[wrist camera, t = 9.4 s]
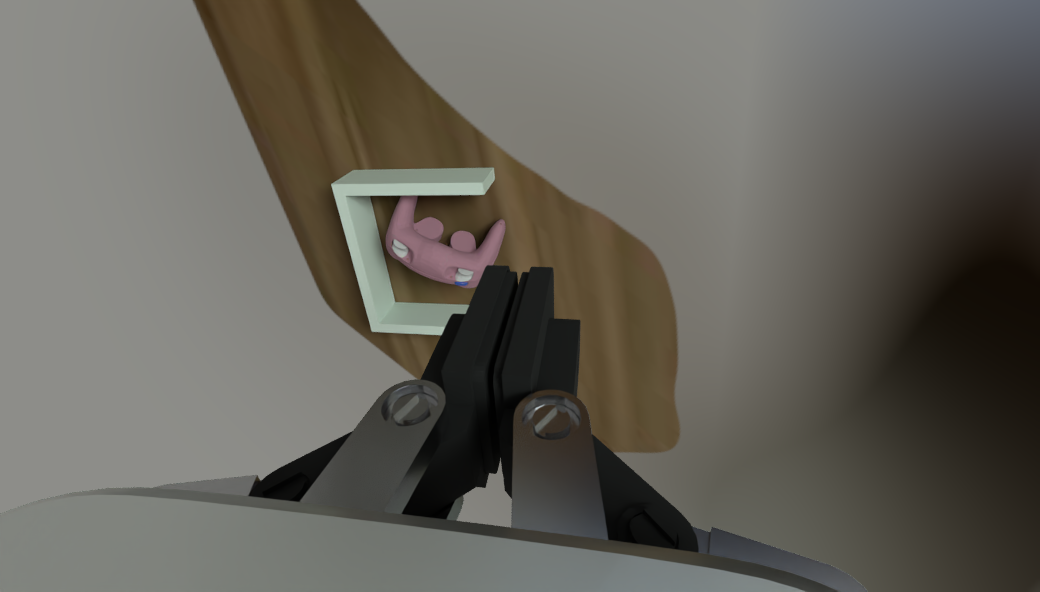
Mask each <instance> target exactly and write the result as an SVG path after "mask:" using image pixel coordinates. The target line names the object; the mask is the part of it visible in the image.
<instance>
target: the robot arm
mask: <svg viewBox="0 0 1040 592" xmlns="http://www.w3.org/2000/svg"><path fill="white" fill-rule="evenodd" d="M579 353H580V320H571V319H554V273H553V267H531V268H530V272H522V275H521V278H520V282H519V285H518V278H517V272H510V269H509V266H497V265H487V266H486V267H485V269H484V272H483V274H482V276H481V279H480V281H479V283H478V286H477V288H476V290H475V293H474V295H473V297H472V300H471V302H470V304H469V307H468V309H467V311H466V314H456V313H454V314H452V315H451V316H450V318H449V320H448V322H447V324H446V326H445V329H444V331H443V333H442V335H441V337H440V339H439V341H438V343H437V346H436V348H435V350H434V352H433V354H432V356H431V358H430V360H429V363H428V365H427V367H426V369H425V371H424V373H423V375H422V377H421V380H410V381H404V382H402V383H399V384H396V385H394V386H392V387H391V388H389V389H388V390H386V391H385V392H384V393H383V394H382V395H381V396H380V397H379V398H378V399H377V400H376V402H375V403H374V404H373V406H372V407H371V408H370V410H369V411H368V412H367V414H366V415H365V416H364V417H363V419H362V420H361V421H360V423H359V424H358V425H357V427H356V428H355V429H354V431H352V432H350V433H348V434H346V435H344V436H343V437H340V438H338V439H336V440H334V441H332V442H330V443H328V444H326V445H324V446H322V447H321V448H318V449H317V450H315V451H312V452H310V453H308V454H306V455H304V456H302V457H301V458H298V459H296V460H295V461H292V462H291V463H288V464H287V465H285V466H283V467H281V468H279V469H277V470H275V471H274V472H272V473H271V474H269V475H268V476H266V477H265V478H264V479H263V480H260V479H259V478H258V476H257V475H253V476H244V477H234V478H224V479H215V480H206V481H196V482H186V483H176V484H167V485H162V486H158V487H154V488H142V487H137V488H106V489H98V490H90V491H82V492H74V493H69V494H64V495H60V496H56V497H51V498H47V499H42V500H39V501H36V502H32V503H29V504H26V505H23V506H20V507H17V508H15V509H12V510H9V511H6V512H4V513H1V514H0V592H867V590H866V589H865V588H864V586H863V585H861V584H860V583H859V582H858V581H856V580H855V579H854V578H853V577H852V576H850V575H849V574H848V573H846V572H844V571H842V570H840V569H838V568H836V567H833V566H831V565H829V564H826V563H823V562H820V561H817V560H813V559H810V558H807V557H804V556H801V555H798V554H795V553H792V552H789V551H786V550H783V549H780V548H776V547H773V546H770V545H767V544H764V543H761V542H758V541H755V540H752V539H749V538H745V537H742V536H739V535H736V534H733V533H730V532H727V531H724V530H721V529H718V528H715V527H711V531H710V532H708V531H705V530H702V529H699V528H696V527H693V526H691V524H690V523H689V522H688V521H687V519H686V518H685V517H684V516H683V515H682V514H681V513H680V512H679V511H678V510H677V509H676V508H675V507H674V506H672V505H671V504H670V503H669V502H668V501H667V500H666V499H665V498H663V497H662V496H661V495H660V494H659V493H658V492H657V491H656V490H654V489H653V488H652V487H651V486H650V485H649V484H648V483H647V482H645V481H644V480H643V479H642V478H641V477H640V476H639V475H637V474H636V473H635V472H634V471H633V470H632V469H631V468H630V467H629V466H627V465H626V464H625V463H624V462H623V461H622V460H621V459H620V458H618V457H617V456H616V455H615V454H614V453H613V452H612V451H611V450H610V449H608V448H607V447H606V446H605V445H604V444H603V443H602V442H601V441H599V440H598V439H597V438H596V437H595V436H594V435H593V434H592V431H591V425H590V418H589V414H588V411H587V408H586V406H585V405H584V404H583V403H582V401H581V400H580V399H578V398H577V387H578V373H579ZM500 458H501V464H502V472H503V477H504V486H505V491H506V492H507V494H508V495H509V496H510V497H511V499H512V518H511V519H512V520H511V528H510V527H502V526H494V525H485V524H478V523H470V522H461V521H456V520H457V518H458V516H459V513H460V511H461V509H462V505H463V501H464V498H463V495H464V494H465V493H467V492H469V491H470V490H472V489H474V488H475V487H483V488H485V487H486V483H487V479H488V475H489V473H493V474H496V473H497V471H498V467H499V462H500Z"/></svg>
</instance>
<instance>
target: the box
mask: <svg viewBox="0 0 1040 592" xmlns="http://www.w3.org/2000/svg"><path fill="white" fill-rule="evenodd" d="M494 180H495V175H494V168H445V169H386V170H353V171H351V172H350V173H348V174H347V175H345V176H343V177H342V178H340V179H339V180H337V181H335V182H334V183H332V184H331V186H332V189H333V193H334V196H335V200H336V204H337V207H338V211H339V214H340V218H341V222H342V225H343V229H344V233H345V236H346V240H347V243H348V247H349V251H350V254H351V258H352V261H353V265H354V269H355V272H356V276H357V280H358V283H359V287H360V290H361V294H362V298H363V301H364V305H365V308H366V312H367V316H368V319H369V323H370V327H371V330H372V332H388V333H408V334H428V335H442V333H443V331H444V329H445V326H446V324H447V322H448V320H449V318H450V316H451V315H452V314H454V313H456V314H466V311H467V309H468V307H469V305H456V304H429V303H402V302H395V300H394V295H393V291H392V287H391V283H390V279H389V274H388V270H387V266H386V262H385V257H384V253H383V249H382V245H381V241H380V236H379V232H378V228H377V224H376V219H375V215H374V211H373V207H372V203H371V198H370V196H387V195H484V194H485V193H486V191H487V190H488V188H489V187H490V186H491V184H492V183H493V181H494Z"/></svg>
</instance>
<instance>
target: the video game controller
mask: <svg viewBox="0 0 1040 592" xmlns="http://www.w3.org/2000/svg"><path fill="white" fill-rule="evenodd" d="M417 199H418V195H401V197H400V200H399V202H398V204H397V206H396V208H395V210H394V213H393V215H392V218H391V221H390V225H389V228H388V231H387V234H386V248H387V251H388V252H389V254H390V255H391V256H392V257H393V258H395V259H397V260H399V261H400V262H401V263H403V264H404V265H405V266H407V267H408V268H409V269H411V270H413V271H415V272H416V273H418V274H420V275H423V276H425V277H427V278H430V279H433V280H436V281H440V282H444V283H448V284H456V285H458V286H460V287H463V288H473V287H476V286H478V283H479V281H480V279H481V276H482V274H483V272H484V269H485V267H486V266H487V265H493V264H494V262H495V260H496V257H497V255H498V252H499V249H500V246H501V243H502V240H503V237H504V233H505V222H504V220H502V219H500V220H498V221H497V222H496V223H495V224H494V225H493V226H492V227H491V229H490V230H489V232H488V234H487V236H486V238H485V239H484V241H483V243H482V244H481V245H480V247H479V248H478V249H476V244H475V238H474V236H473V235H472V234H471V233H469V232H466V231H457V232H455V233H454V234H453V235H452V237H451V241H450V247H449V246H446V245H444V244H442V243H439V242H438V241H439V240H440V239H441V237H442V233H443V225H442V223H441V222H440V221H439V220H437V219H435V218H432V217H428V218H425V219H423V220H421V221H420V222H418V223H416V224H415V223H414V221H413V220H414V211H415V207H416V203H417Z"/></svg>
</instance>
